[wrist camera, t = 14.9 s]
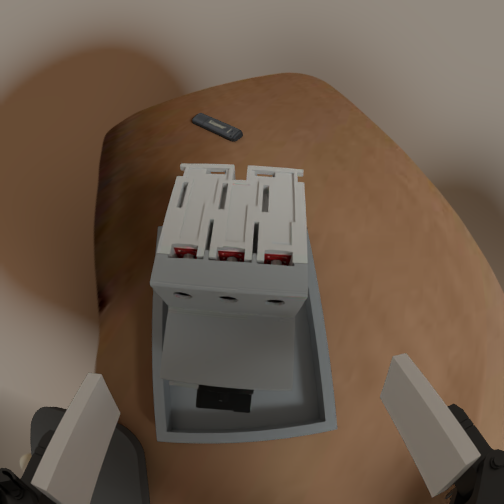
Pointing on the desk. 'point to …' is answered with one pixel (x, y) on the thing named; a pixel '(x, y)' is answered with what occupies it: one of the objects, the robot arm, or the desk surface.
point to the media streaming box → (106, 461)
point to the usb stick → (217, 127)
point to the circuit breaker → (232, 282)
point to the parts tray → (263, 401)
